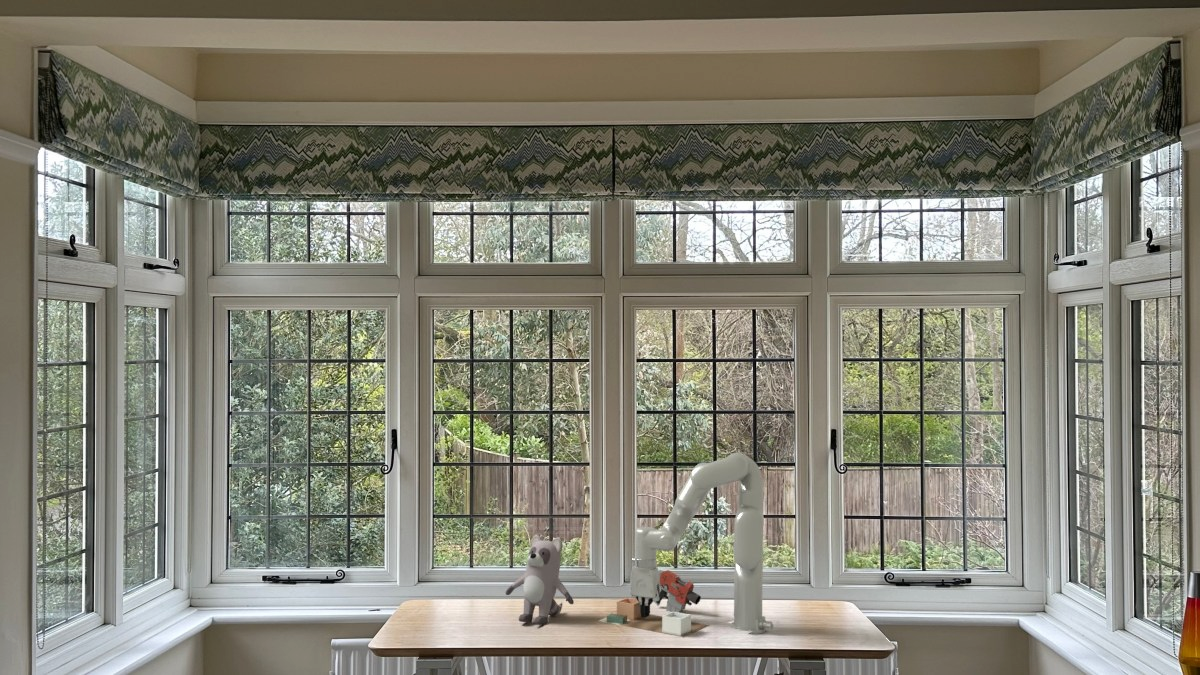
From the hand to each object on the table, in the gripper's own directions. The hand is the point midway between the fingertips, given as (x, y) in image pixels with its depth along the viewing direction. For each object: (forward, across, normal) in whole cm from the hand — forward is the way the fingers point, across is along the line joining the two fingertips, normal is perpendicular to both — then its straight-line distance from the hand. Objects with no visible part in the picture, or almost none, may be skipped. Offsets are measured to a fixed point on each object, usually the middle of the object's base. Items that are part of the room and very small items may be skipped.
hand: (645, 616), depth 330 cm
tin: (+1, -7, -8) cm, 10 cm away
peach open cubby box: (+1, -6, 0) cm, 6 cm away
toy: (+3, -31, -17) cm, 35 cm away
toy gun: (+3, +3, +16) cm, 16 cm away
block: (+1, +16, -7) cm, 18 cm away
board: (+2, +4, -2) cm, 5 cm away
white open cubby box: (+1, +16, -7) cm, 18 cm away
